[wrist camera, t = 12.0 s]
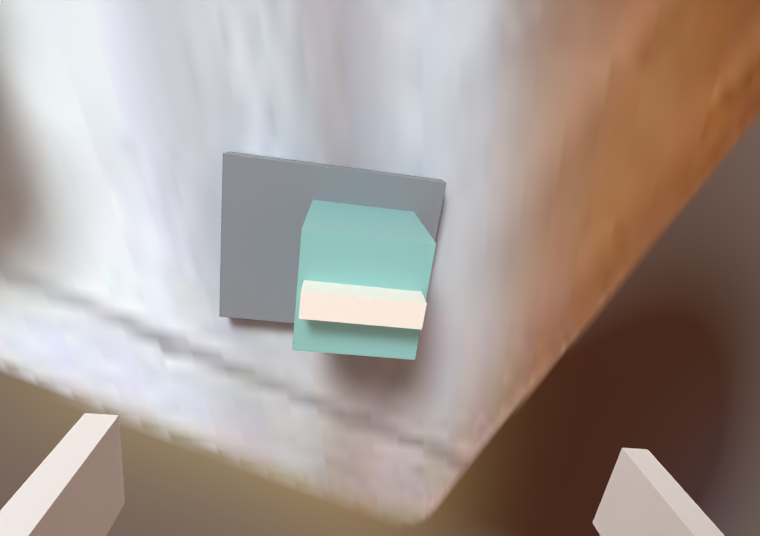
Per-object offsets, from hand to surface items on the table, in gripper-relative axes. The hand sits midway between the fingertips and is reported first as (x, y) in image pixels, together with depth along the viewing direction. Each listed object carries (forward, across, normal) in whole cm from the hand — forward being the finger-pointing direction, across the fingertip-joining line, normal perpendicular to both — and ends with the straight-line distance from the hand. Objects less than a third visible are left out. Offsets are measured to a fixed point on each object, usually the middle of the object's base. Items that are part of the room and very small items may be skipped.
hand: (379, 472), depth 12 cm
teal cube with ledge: (+19, 0, 0) cm, 19 cm away
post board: (+20, -2, 0) cm, 21 cm away
